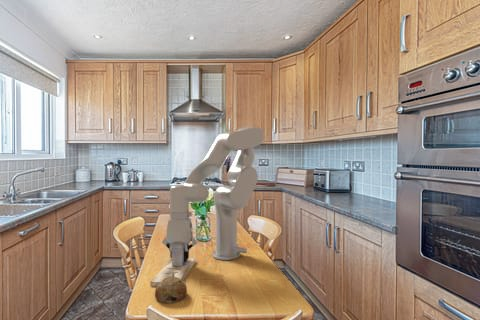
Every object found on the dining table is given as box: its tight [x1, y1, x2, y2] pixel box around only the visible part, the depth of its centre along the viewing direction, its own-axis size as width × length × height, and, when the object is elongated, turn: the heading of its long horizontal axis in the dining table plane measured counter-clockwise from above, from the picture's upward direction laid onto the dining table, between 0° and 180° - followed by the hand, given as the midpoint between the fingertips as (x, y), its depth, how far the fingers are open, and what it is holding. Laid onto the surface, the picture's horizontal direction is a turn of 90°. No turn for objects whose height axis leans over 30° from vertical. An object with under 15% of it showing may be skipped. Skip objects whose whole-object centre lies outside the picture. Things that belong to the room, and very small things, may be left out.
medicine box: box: [171, 243, 185, 266], centre depth 122 cm, size 8×4×9 cm, turn 174°
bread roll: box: [154, 276, 188, 305], centre depth 97 cm, size 10×10×8 cm
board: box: [149, 257, 197, 287], centre depth 116 cm, size 10×24×2 cm, turn 174°
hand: (179, 259), depth 122 cm, fingers closed on medicine box, 4 cm apart
